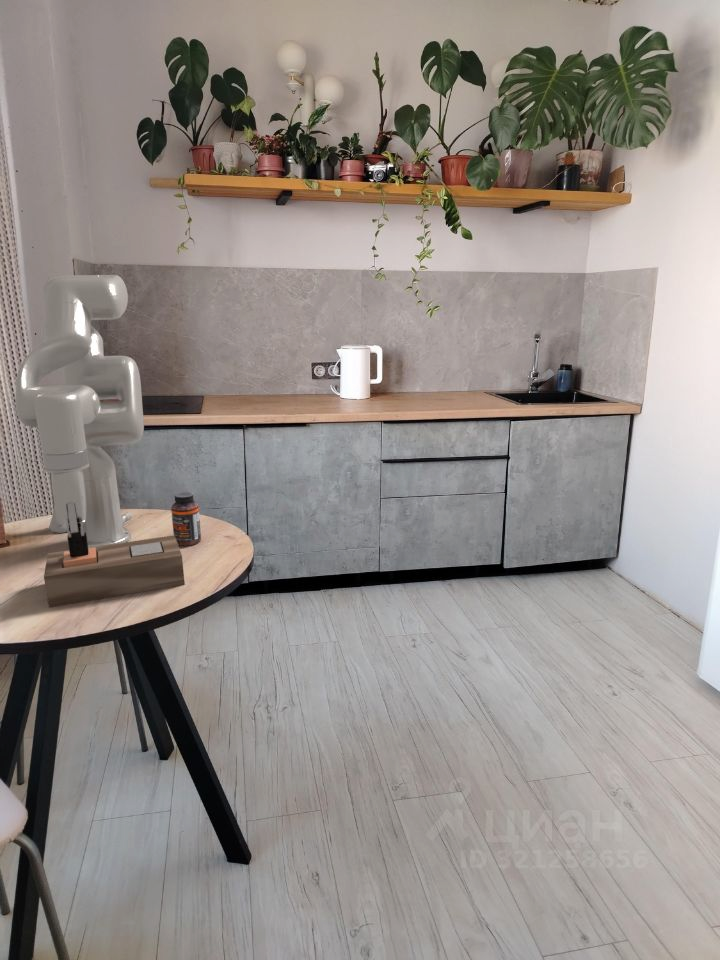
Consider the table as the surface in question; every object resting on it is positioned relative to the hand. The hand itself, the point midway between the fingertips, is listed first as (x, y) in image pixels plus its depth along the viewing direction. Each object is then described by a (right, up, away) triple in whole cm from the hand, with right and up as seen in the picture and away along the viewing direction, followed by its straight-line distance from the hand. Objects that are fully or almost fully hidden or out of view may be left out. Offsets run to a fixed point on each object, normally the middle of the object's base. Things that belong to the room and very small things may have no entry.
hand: (79, 554), depth 126 cm
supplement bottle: (+14, 0, +25) cm, 29 cm away
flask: (-18, +2, +36) cm, 40 cm away
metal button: (+11, -4, +6) cm, 13 cm away
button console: (+6, -6, +4) cm, 9 cm away
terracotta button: (0, -5, +2) cm, 5 cm away
